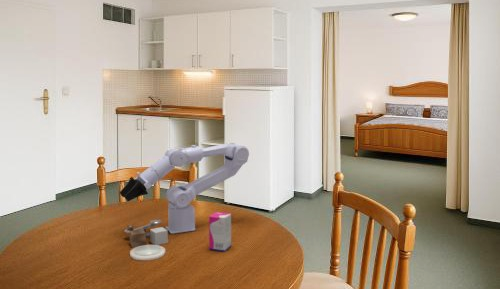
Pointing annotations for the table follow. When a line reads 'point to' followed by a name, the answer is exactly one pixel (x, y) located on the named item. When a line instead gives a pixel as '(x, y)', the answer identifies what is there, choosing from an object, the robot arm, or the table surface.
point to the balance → (143, 227)
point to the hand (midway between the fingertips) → (123, 197)
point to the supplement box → (220, 231)
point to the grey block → (158, 236)
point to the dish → (147, 252)
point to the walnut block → (137, 238)
